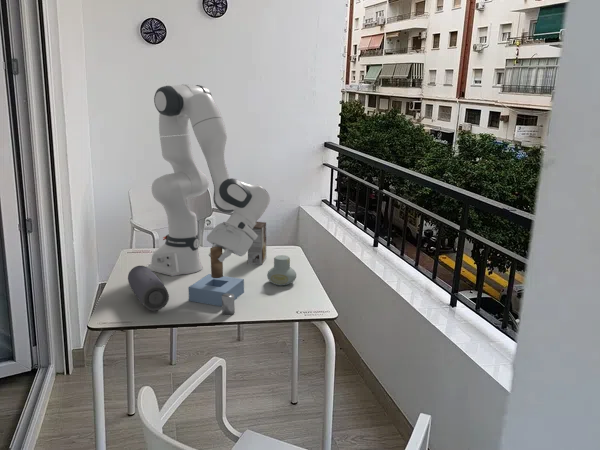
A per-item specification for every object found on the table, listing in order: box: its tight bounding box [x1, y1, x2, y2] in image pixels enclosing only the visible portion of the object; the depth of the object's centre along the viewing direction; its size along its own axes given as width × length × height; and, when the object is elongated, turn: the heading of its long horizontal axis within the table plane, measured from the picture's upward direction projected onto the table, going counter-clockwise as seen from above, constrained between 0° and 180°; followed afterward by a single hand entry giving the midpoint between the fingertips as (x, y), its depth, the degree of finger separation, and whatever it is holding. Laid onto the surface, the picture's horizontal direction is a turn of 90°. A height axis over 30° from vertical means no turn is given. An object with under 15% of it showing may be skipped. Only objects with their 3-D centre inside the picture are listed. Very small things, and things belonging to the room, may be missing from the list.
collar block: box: [187, 273, 245, 307], centre depth 179 cm, size 14×14×5 cm
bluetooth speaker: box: [127, 265, 170, 311], centre depth 173 cm, size 23×9×10 cm, turn 30°
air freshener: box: [266, 254, 297, 287], centre depth 192 cm, size 11×8×10 cm
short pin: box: [221, 293, 236, 316], centre depth 165 cm, size 4×4×6 cm
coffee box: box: [247, 221, 267, 266], centre depth 216 cm, size 9×6×16 cm
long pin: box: [209, 246, 224, 278], centre depth 176 cm, size 4×4×10 cm
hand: (215, 258), depth 175 cm, fingers closed on long pin, 4 cm apart
